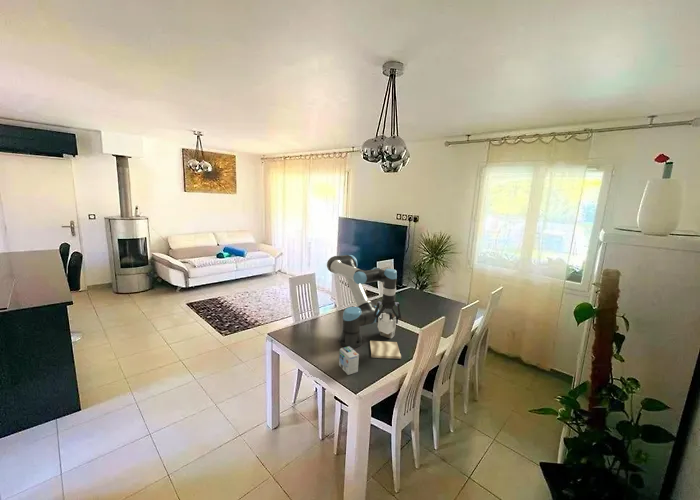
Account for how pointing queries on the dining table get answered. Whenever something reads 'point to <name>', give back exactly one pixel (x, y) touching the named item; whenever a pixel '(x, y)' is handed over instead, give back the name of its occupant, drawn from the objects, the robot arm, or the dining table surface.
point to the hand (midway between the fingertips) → (386, 327)
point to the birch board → (384, 349)
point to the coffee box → (391, 332)
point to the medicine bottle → (386, 323)
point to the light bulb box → (348, 360)
